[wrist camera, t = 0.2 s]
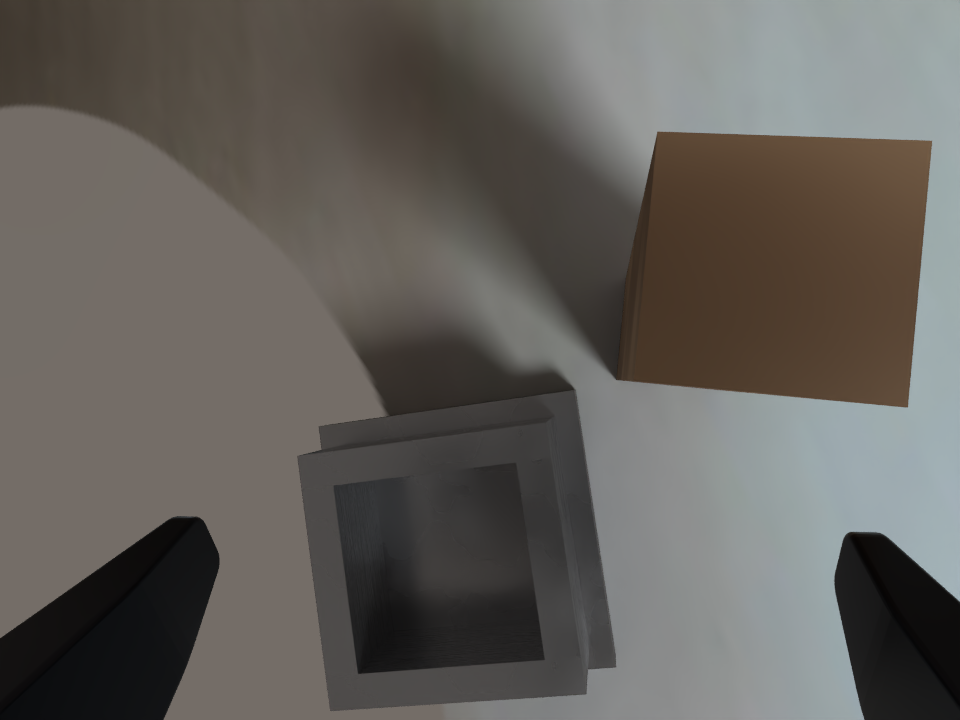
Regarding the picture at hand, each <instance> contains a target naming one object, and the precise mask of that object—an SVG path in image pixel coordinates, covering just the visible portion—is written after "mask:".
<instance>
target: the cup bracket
mask: <svg viewBox="0 0 960 720" xmlns="http://www.w3.org/2000/svg"><path fill="white" fill-rule="evenodd" d="M319 433H320V440H321V448H322V450H320V451H316V452H312V453H308V454H304V455H300V456H298V465H299V472H300V480H301V488H302V496H303V503H304V511H305V519H306V526H307V535H308V542H309V550H310V558H311V566H312V573H313V581H314V589H315V596H316V603H317V612H318V619H319V627H320V635H321V643H322V651H323V658H324V666H325V673H326V682H327V690H328V698H329V704H330V711H339V710H353V709H368V708H383V707H398V706H415V705H430V704H445V703H460V702H476V701H491V700H506V699H521V698H537V697H552V696H567V695H582V694H586V692H587V675H588V669H599V668H613V667H616V654H615V648H614V641H613V634H612V628H611V621H610V615H609V608H608V601H607V595H606V588H605V581H604V575H603V568H602V562H601V555H600V548H599V542H598V535H597V529H596V522H595V515H594V509H593V502H592V496H591V489H590V482H589V476H588V469H587V463H586V456H585V449H584V443H583V436H582V429H581V423H580V416H579V410H578V403H577V396H576V390H569V391H562V392H555V393H548V394H541V395H534V396H527V397H520V398H513V399H506V400H499V401H492V402H485V403H478V404H471V405H464V406H457V407H450V408H443V409H436V410H429V411H422V412H415V413H408V414H401V415H394V416H387V417H380V418H373V419H366V420H359V421H352V422H345V423H338V424H331V425H325V426H320V427H319Z"/></svg>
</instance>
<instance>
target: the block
mask: <svg viewBox="0 0 960 720" xmlns="http://www.w3.org/2000/svg"><path fill="white" fill-rule="evenodd" d="M931 147H932V141H919V140H890V139H860V138H830V137H800V136H770V135H740V134H710V133H681V132H657V137H656V141H655V146H654V151H653V155H652V160H651V164H650V169H649V174H648V178H647V183H646V188H645V192H644V197H643V201H642V206H641V211H640V215H639V220H638V225H637V229H636V234H635V238H634V243H633V248H632V252H631V257H630V262H629V266H628V271H627V275H626V283H625V294H624V304H623V315H622V325H621V336H620V346H619V357H618V367H617V377H616V380H623V381H633V382H643V383H654V384H664V385H674V386H684V387H695V388H705V389H715V390H725V391H736V392H747V393H758V394H768V395H779V396H790V397H801V398H811V399H822V400H833V401H844V402H854V403H865V404H876V405H887V406H898V407H908V399H909V388H910V377H911V366H912V355H913V344H914V333H915V322H916V311H917V300H918V289H919V278H920V267H921V256H922V246H923V235H924V224H925V213H926V202H927V191H928V180H929V169H930V158H931Z"/></svg>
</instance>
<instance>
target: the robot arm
mask: <svg viewBox="0 0 960 720" xmlns="http://www.w3.org/2000/svg"><path fill="white" fill-rule="evenodd" d="M218 569H219V553H218V551H217V548H216V546H215V544H214V542H213V540H212V537H211V535H210V533H209V531H208V529H207V526H206V524H205V523H204V521H203V520H202V519H201V518H199V517H187V516H177V517H173V518H171V519H169V520H167V521H166V522H165V523H163V524H162V525H160V526H159V527H157V528H156V529H155V530H153V531H152V532H150V533H149V534H147V535H146V536H145V537H143V538H142V539H140V540H139V541H138V542H136V543H135V544H133V545H132V546H131V547H129V548H128V549H126V550H125V551H123V552H122V553H121V554H119V555H118V556H116V557H115V558H113V559H112V560H111V561H109V562H108V563H106V564H105V565H104V566H102V567H101V568H99V569H98V570H96V571H95V572H94V573H92V574H91V575H89V576H88V577H87V578H85V579H84V580H82V581H81V582H79V583H78V584H77V585H75V586H74V587H72V588H71V589H70V590H68V591H67V592H65V593H64V594H63V595H61V596H60V597H58V598H57V599H55V600H54V601H53V602H51V603H50V604H48V605H47V606H45V607H44V608H43V609H41V610H40V611H38V612H37V613H36V614H34V615H33V616H31V617H30V618H28V619H27V620H26V621H24V622H23V623H21V624H20V625H18V626H17V627H16V628H14V629H13V630H11V631H10V632H9V633H7V634H6V635H4V636H3V637H2V638H0V720H164V717H165V715H166V713H167V711H168V708H169V706H170V703H171V701H172V699H173V697H174V695H175V692H176V690H177V687H178V685H179V683H180V681H181V678H182V676H183V674H184V671H185V669H186V666H187V664H188V661H189V658H190V655H191V652H192V650H193V647H194V643H195V641H196V637H197V634H198V631H199V628H200V625H201V622H202V619H203V616H204V613H205V610H206V607H207V604H208V600H209V597H210V594H211V591H212V588H213V585H214V582H215V579H216V576H217V573H218ZM834 582H835V592H836V597H837V602H838V607H839V611H840V616H841V620H842V625H843V630H844V634H845V639H846V643H847V648H848V652H849V657H850V662H851V666H852V671H853V675H854V680H855V685H856V689H857V693H858V698H859V702H860V706H861V710H862V713H863V716H864V720H960V602H959V601H958V600H957V599H956V598H955V597H954V596H953V595H952V594H951V593H949V592H948V591H947V590H946V589H945V588H944V587H943V586H942V585H940V584H939V583H938V582H937V581H936V580H935V579H934V578H933V577H931V576H930V575H929V574H928V573H927V572H926V571H925V570H924V569H923V568H921V567H920V566H919V565H918V564H917V563H916V562H915V561H914V560H912V559H911V558H910V557H909V556H908V555H907V554H906V553H905V552H903V551H902V550H901V549H900V548H899V547H898V546H897V545H896V544H895V543H893V542H892V541H891V540H890V539H889V538H888V537H886V536H885V535H883V534H881V533H877V532H849V533H847V534H846V535H845V537H844V539H843V543H842V547H841V551H840V555H839V559H838V563H837V568H836V572H835V579H834Z"/></svg>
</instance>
